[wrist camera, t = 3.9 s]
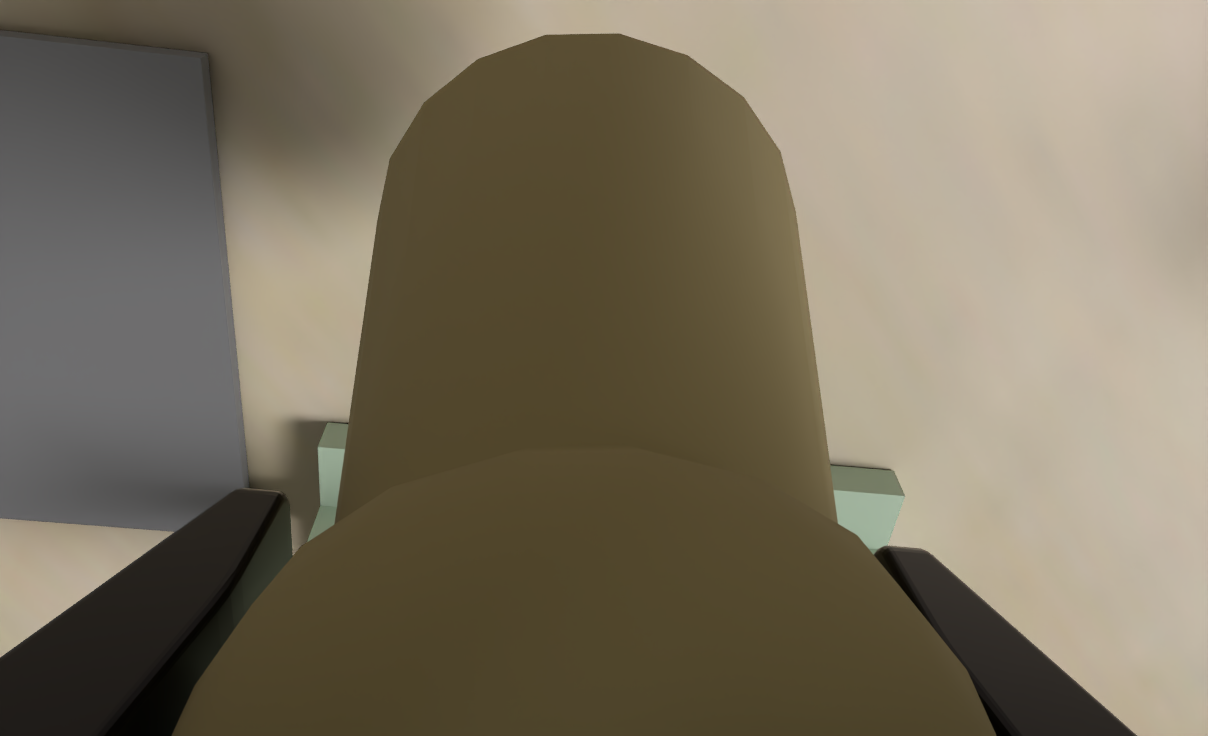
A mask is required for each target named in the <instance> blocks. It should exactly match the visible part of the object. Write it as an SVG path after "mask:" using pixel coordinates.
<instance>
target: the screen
mask: <svg viewBox="0 0 1208 736" xmlns="http://www.w3.org/2000/svg"><path fill="white" fill-rule="evenodd" d="M347 431H348V424H341V423H329V422H328V423H327V425H326V428H325V430H324V432H323V435H322V437H321V440H320V442H319V445H318V465H319V486H320V508H319V511H318V514H317V516H316V519H315V522H314V524H313V527H312V530H311V533H310V535H309V538H308V541H310V540H311V539H313V538H314V537H316V536H318V535H319V534H321V533H322V532H324V531H325V530H327V529H328V528H330V527H331V526H333V525H334V523H335V516H336V509H337V502H338V495H339V488H340V481H341V474H342V467H343V460H344V453H345V446H346V438H347ZM830 468H831V476H832V483H833V490H834V498H835V505H836V512H837V520H838V524H839V525H841V526H843V527H844V528H846V529H848V530H849V531H851V532H853V533H855V534H856V535H858V537H859V538H860V539H861V540H862V541H863V543H864V544H865V545H866V546H867V547H868V549H869V550H870V551H871V552H872V554H873V555H874V553H875V552H876V551H877V549H879V548H881V547H883V546H888V543H889V540H890V537H891V534H892V531H893V529H894V526H895V523H896V520H897V517H898V515H899V512H900V509H901V506H902V503H903V500H904V498H905V495H904V493H903V490H902V488H901V486H900V484H899V481H898V479H897V477H896V475H895V472H894V471H891V470H879V469H867V468H856V467H844V466H832V465H830ZM308 541H307V542H308Z"/></svg>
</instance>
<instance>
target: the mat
mask: <svg viewBox="0 0 1208 736" xmlns="http://www.w3.org/2000/svg"><path fill="white" fill-rule="evenodd" d="M239 488H250V486H249V476H248V465H247V455H246V445H245V434H244V424H243V414H242V403H241V393H240V382H239V372H238V362H237V351H236V341H235V331H234V320H233V310H232V299H231V289H230V279H229V268H228V258H227V247H226V237H225V227H224V216H223V206H222V196H221V185H220V175H219V164H218V154H217V144H216V133H215V123H214V113H213V102H212V92H211V81H210V71H209V61H208V53H202V52H193V51H184V50H175V49H166V48H157V47H149V46H140V45H131V44H122V43H113V42H104V41H95V40H86V39H77V38H68V37H59V36H50V35H41V34H32V33H23V32H14V31H5V30H0V518H3V519H16V520H29V521H42V522H55V523H68V524H81V525H95V526H108V527H121V528H134V529H147V530H160V531H173V532H176V531H177V530H178V529H180V528H181V527H183V526H184V525H185V524H187V523H188V522H190V521H191V520H192V519H194V518H195V517H197V516H198V515H199V514H201V513H202V512H203V511H205V510H206V509H208V508H209V507H210V506H212V505H213V504H215V503H216V502H217V501H219V500H220V499H222V498H223V497H224V496H226V495H227V494H229V493H230V492H232V491H234V490H236V489H239Z"/></svg>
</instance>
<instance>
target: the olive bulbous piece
mask: <svg viewBox="0 0 1208 736" xmlns="http://www.w3.org/2000/svg"><path fill="white" fill-rule="evenodd" d="M171 736H996V733H995V731H994V729H993V727H992V724H991V722H990V720H989V718H988V716H987V713H986V711H985V709H984V707H983V704H982V702H981V700H980V698H979V696H978V693H977V691H976V689H975V687H974V684H973V682H972V680H971V678H970V676H969V673H968V671H967V669H966V668H965V667H964V666H963V665H962V663H961V662H960V661H959V660H958V658H957V657H956V656H955V655H954V653H953V652H952V651H951V650H950V648H949V647H948V646H947V645H946V643H945V642H944V641H943V640H942V638H941V637H940V636H939V635H938V633H937V632H936V631H935V630H934V628H933V627H932V626H931V625H930V623H929V622H928V621H927V620H926V618H925V617H924V616H923V615H922V613H921V612H920V611H919V610H918V608H917V607H916V606H915V605H914V603H913V602H912V601H911V600H910V598H909V597H908V596H907V595H906V593H905V592H904V591H903V590H902V589H901V587H900V586H899V585H898V584H897V583H896V581H895V580H894V579H893V578H892V576H891V575H890V574H889V573H888V572H887V570H886V569H885V568H884V567H883V566H882V564H881V563H880V562H879V561H878V560H877V558H876V557H875V556H874V555H873V554H872V552H871V551H870V550H869V549H868V547H867V546H866V545H865V544H864V543H863V541H862V540H861V539H860V538H859V537H858V535H856V534H855V533H853V532H851V531H849V530H848V529H846V528H844V527H843V526H841V525H839V524H838V520H837V512H836V505H835V498H834V490H833V483H832V476H831V468H830V461H829V453H828V446H827V439H826V431H825V424H824V417H823V409H822V402H821V395H820V387H819V380H818V372H817V365H816V358H815V350H814V343H813V336H812V328H811V321H810V313H809V306H808V299H807V291H806V284H805V277H804V269H803V262H802V254H801V247H800V240H799V232H798V225H797V218H796V211H795V207H794V203H793V199H792V195H791V192H790V188H789V184H788V180H787V176H786V172H785V168H784V164H783V160H782V156H781V152H780V150H779V149H778V147H777V146H776V144H775V143H774V141H773V140H772V138H771V137H770V135H769V134H768V133H767V131H766V130H765V128H764V127H763V125H762V124H761V122H760V121H759V119H758V118H757V116H756V115H755V113H754V112H753V110H752V109H751V107H750V106H749V104H748V103H747V101H746V100H745V98H744V97H743V96H742V95H740V94H739V93H738V92H736V91H735V90H734V89H732V88H731V87H729V86H728V85H727V84H725V83H724V82H723V81H721V80H720V79H719V78H717V77H716V76H715V75H713V74H712V73H711V72H709V71H708V70H707V69H705V68H704V67H703V66H701V65H700V64H699V63H697V62H696V61H694V60H693V59H692V58H690V57H689V56H688V55H685V54H681V53H678V52H675V51H672V50H669V49H666V48H663V47H659V46H656V45H653V44H650V43H647V42H644V41H641V40H637V39H634V38H631V37H628V36H625V35H622V34H568V35H544V36H541V37H538V38H536V39H533V40H530V41H527V42H525V43H522V44H519V45H516V46H513V47H511V48H508V49H505V50H502V51H499V52H497V53H494V54H491V55H488V56H485V57H483V58H480V59H478V60H476V61H475V62H474V63H473V64H471V65H470V66H469V67H468V68H466V69H465V70H464V71H463V72H461V73H460V74H459V75H458V76H457V77H455V78H454V79H453V80H452V81H450V82H449V83H448V84H447V85H445V86H444V87H443V88H442V89H440V90H439V91H438V92H437V93H435V94H434V95H433V96H432V97H431V98H429V99H428V100H427V101H426V102H424V104H423V105H422V107H421V109H420V110H419V112H418V113H417V115H416V117H415V118H414V120H413V122H412V123H411V125H410V127H409V128H408V130H407V132H406V133H405V135H404V136H403V138H402V140H401V141H400V143H399V145H398V146H397V148H396V150H395V151H394V153H393V154H392V156H391V158H390V161H389V166H388V171H387V176H386V181H385V185H384V190H383V195H382V200H381V205H380V210H379V215H378V220H377V227H376V234H375V241H374V248H373V255H372V262H371V270H370V277H369V284H368V291H367V298H366V305H365V312H364V319H363V326H362V333H361V340H360V347H359V354H358V361H357V368H356V375H355V382H354V389H353V396H352V403H351V410H350V417H349V424H348V431H347V438H346V446H345V453H344V460H343V467H342V474H341V481H340V488H339V495H338V502H337V509H336V516H335V523H334V525H333V526H331V527H330V528H328V529H327V530H325V531H324V532H322V533H321V534H319V535H318V536H316V537H314V538H313V539H311V540H310V541H308V542H307V543H305V544H304V545H302V546H301V547H300V548H299V550H298V551H297V552H296V553H295V554H294V555H293V557H292V558H291V559H290V560H289V561H288V562H287V564H286V565H285V566H284V567H283V568H282V570H281V571H280V572H279V573H278V574H277V575H276V577H275V578H274V579H273V580H272V581H271V582H270V584H269V585H268V586H267V587H266V588H265V590H264V591H263V592H262V593H261V594H260V595H259V597H258V598H257V599H256V600H255V601H254V602H253V604H252V605H251V606H250V608H249V609H248V611H247V612H246V613H245V615H244V616H243V618H242V619H241V620H240V622H239V623H238V625H237V626H236V628H235V629H234V630H233V632H232V633H231V635H230V636H229V638H228V639H227V640H226V642H225V643H224V645H223V646H222V647H221V649H220V650H219V652H218V653H217V654H216V656H215V657H214V659H213V660H212V662H211V663H210V664H209V666H208V667H207V669H206V670H205V671H204V673H203V674H202V676H201V677H200V679H199V680H198V681H197V683H196V684H195V686H194V688H193V690H192V692H191V694H190V696H189V699H188V701H187V703H186V705H185V707H184V709H183V712H182V714H181V716H180V718H179V720H178V722H177V725H176V727H175V729H174V731H173V733H172V735H171Z"/></svg>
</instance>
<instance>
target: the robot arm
mask: <svg viewBox="0 0 1208 736" xmlns="http://www.w3.org/2000/svg"><path fill="white" fill-rule="evenodd" d="M874 556H875V557H876V558H877V560H878V561H879V562H880V563H881V564H882V566H883V567H884V568H885V569H886V570H887V572H888V573H889V574H890V575H891V576H892V578H893V579H894V580H895V581H896V583H897V584H898V585H899V586H900V587H901V589H902V590H903V591H904V592H905V593H906V595H907V596H908V597H909V598H910V600H911V601H912V602H913V603H914V605H915V606H916V607H917V608H918V610H919V611H920V612H921V613H922V615H923V616H924V617H925V618H926V620H927V621H928V622H929V623H930V625H931V626H932V627H933V628H934V630H935V631H936V632H937V633H938V635H939V636H940V637H941V638H942V640H943V641H944V642H945V643H946V645H947V646H948V647H949V648H950V650H951V651H952V652H953V653H954V655H955V656H956V657H957V658H958V660H959V661H960V662H961V663H962V665H963V666H964V667H965V668H966V669H967V671H968V673H969V676H970V678H971V680H972V682H973V684H974V687H975V689H976V691H977V693H978V696H979V698H980V700H981V702H982V704H983V707H984V709H985V711H986V713H987V716H988V718H989V720H990V722H991V724H992V727H993V729H994V731H995V733H996V736H1137V735H1136V734H1135V733H1133V732H1132V731H1131V730H1130V729H1129V728H1128V727H1127V726H1126V725H1124V724H1123V723H1122V722H1121V721H1120V720H1119V719H1118V718H1116V717H1115V716H1114V715H1113V714H1112V713H1111V712H1110V711H1109V710H1107V709H1106V708H1105V707H1104V706H1103V705H1102V704H1101V703H1099V702H1098V701H1097V700H1096V699H1095V698H1094V697H1093V696H1092V695H1090V694H1089V693H1088V692H1087V691H1086V690H1085V689H1084V688H1082V687H1081V686H1080V685H1079V684H1078V683H1077V682H1076V681H1075V680H1073V679H1072V678H1071V677H1070V676H1069V675H1068V674H1067V673H1065V672H1064V671H1063V670H1062V669H1061V668H1060V667H1059V666H1058V665H1056V664H1055V663H1054V662H1053V661H1052V660H1051V659H1050V658H1048V657H1047V656H1046V655H1045V654H1044V653H1043V652H1042V651H1041V650H1039V649H1038V648H1037V647H1036V646H1035V645H1034V644H1033V643H1031V642H1030V641H1029V640H1028V639H1027V638H1026V637H1025V636H1024V635H1022V634H1021V633H1020V632H1019V631H1018V630H1017V629H1016V628H1014V627H1013V626H1012V625H1011V624H1010V623H1009V622H1008V621H1007V620H1005V619H1004V618H1003V617H1002V616H1001V615H1000V614H999V613H997V612H996V611H995V610H994V609H993V608H992V607H991V606H990V605H988V604H987V603H986V602H985V601H984V600H983V599H982V598H980V597H979V596H978V595H977V594H976V593H975V592H974V591H973V590H971V589H970V588H969V587H968V586H967V585H966V584H965V583H963V582H962V581H961V580H960V579H959V578H958V577H957V576H956V575H954V574H953V573H952V572H951V571H950V570H949V569H948V568H946V567H945V566H944V565H943V564H942V563H941V562H940V561H939V560H937V559H936V558H935V557H934V556H933V555H931V554H930V553H929V552H927V551H925V550H923V549H919V548H909V547H897V546H883V547H881V548H879V549H877V551H876V552H875V553H874ZM291 558H292V538H291V519H290V504H289V501H288V498H287V496H286V495H285V494H284V493H282V492H280V491H273V490H261V489H250V488H239V489H236V490H234V491H232V492H230V493H229V494H227V495H226V496H224V497H223V498H222V499H220V500H219V501H217V502H216V503H215V504H213V505H212V506H210V507H209V508H208V509H206V510H205V511H203V512H202V513H201V514H199V515H198V516H197V517H195V518H194V519H192V520H191V521H190V522H188V523H187V524H185V525H184V526H183V527H181V528H180V529H178V530H177V531H176V532H174V533H173V534H171V535H170V536H169V537H167V538H166V539H165V540H163V541H162V542H160V543H159V544H158V545H156V546H155V547H153V548H152V549H151V550H149V551H148V552H146V553H145V554H144V555H142V556H141V557H140V558H138V559H137V560H135V561H134V562H133V563H131V564H130V565H128V566H127V567H126V568H124V569H123V570H121V571H120V572H119V573H117V574H116V575H114V576H113V577H112V578H110V579H109V580H108V581H106V582H105V583H103V584H102V585H101V586H99V587H98V588H96V589H95V590H94V591H92V592H91V593H89V594H88V595H87V596H85V597H84V598H82V599H81V600H80V601H78V602H77V603H76V604H74V605H73V606H71V607H70V608H69V609H67V610H66V611H64V612H63V613H62V614H60V615H59V616H57V617H56V618H55V619H53V620H52V621H51V622H49V623H48V624H46V625H45V626H44V627H42V628H41V629H39V630H38V631H37V632H35V633H34V634H32V635H31V636H30V637H28V638H27V639H25V640H24V641H23V642H21V643H20V644H19V645H17V646H16V647H14V648H13V649H12V650H10V651H9V652H7V653H6V654H5V655H3V656H2V657H0V736H171V735H172V733H173V731H174V729H175V727H176V725H177V722H178V720H179V718H180V716H181V714H182V712H183V709H184V707H185V705H186V703H187V701H188V699H189V696H190V694H191V692H192V690H193V688H194V686H195V684H196V683H197V681H198V680H199V679H200V677H201V676H202V674H203V673H204V671H205V670H206V669H207V667H208V666H209V664H210V663H211V662H212V660H213V659H214V657H215V656H216V654H217V653H218V652H219V650H220V649H221V647H222V646H223V645H224V643H225V642H226V640H227V639H228V638H229V636H230V635H231V633H232V632H233V630H234V629H235V628H236V626H237V625H238V623H239V622H240V620H241V619H242V618H243V616H244V615H245V613H246V612H247V611H248V609H249V608H250V606H251V605H252V604H253V602H254V601H255V600H256V599H257V598H258V597H259V595H260V594H261V593H262V592H263V591H264V590H265V588H266V587H267V586H268V585H269V584H270V582H271V581H272V580H273V579H274V578H275V577H276V575H277V574H278V573H279V572H280V571H281V570H282V568H283V567H284V566H285V565H286V564H287V562H288V561H289V560H290V559H291Z"/></svg>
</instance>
